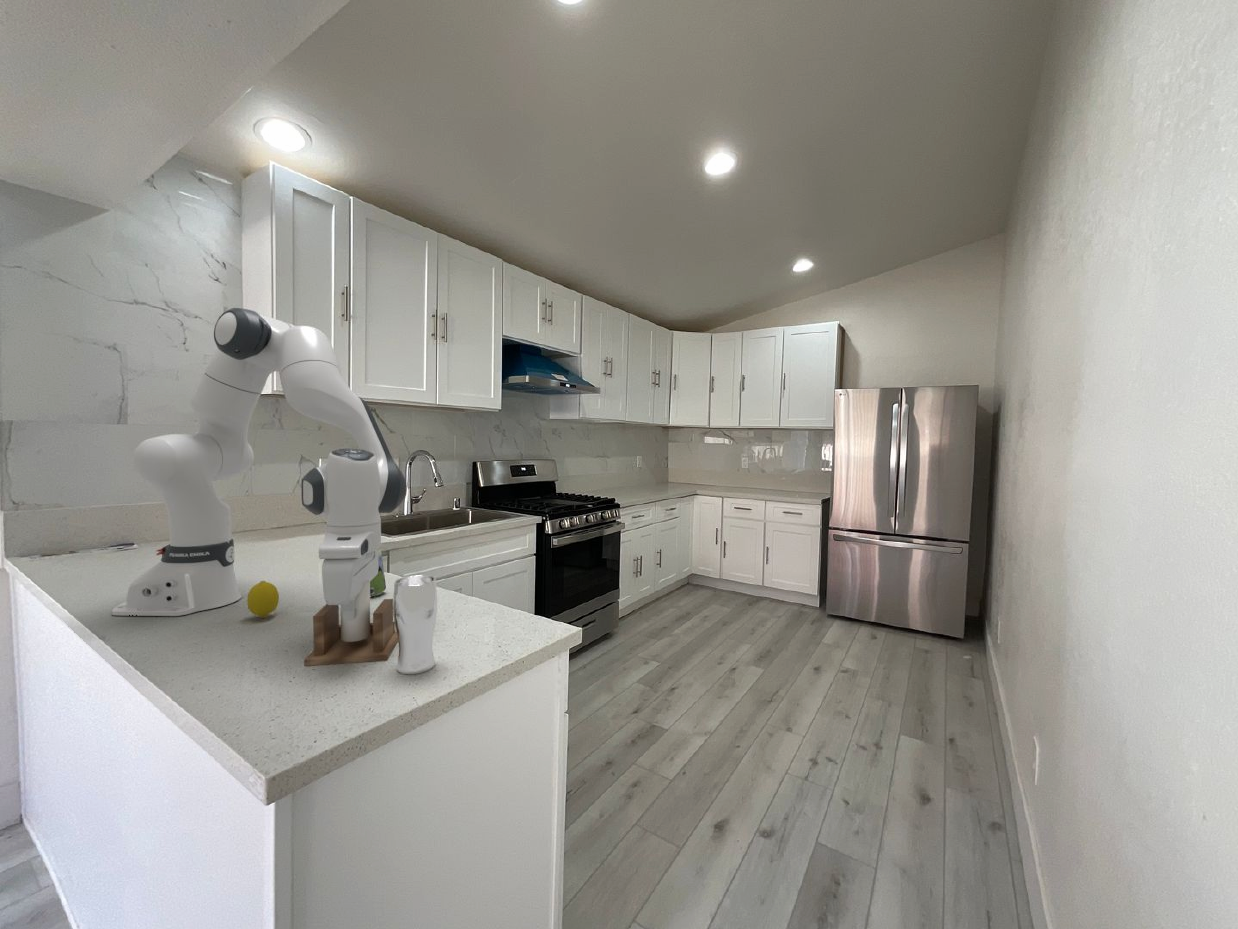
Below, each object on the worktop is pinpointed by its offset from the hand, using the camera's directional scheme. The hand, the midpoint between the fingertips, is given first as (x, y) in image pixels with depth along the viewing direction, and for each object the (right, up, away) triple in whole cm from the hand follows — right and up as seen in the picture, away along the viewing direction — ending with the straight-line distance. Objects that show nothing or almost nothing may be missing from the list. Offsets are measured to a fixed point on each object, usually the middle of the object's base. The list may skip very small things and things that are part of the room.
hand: (355, 613), depth 94 cm
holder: (0, -7, 0) cm, 7 cm away
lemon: (-28, -6, +16) cm, 33 cm away
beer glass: (+14, -8, -6) cm, 17 cm away
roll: (0, -4, 0) cm, 4 cm away
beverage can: (-13, -5, +32) cm, 35 cm away
